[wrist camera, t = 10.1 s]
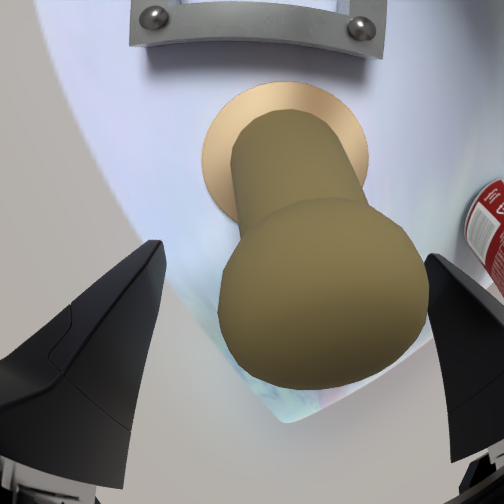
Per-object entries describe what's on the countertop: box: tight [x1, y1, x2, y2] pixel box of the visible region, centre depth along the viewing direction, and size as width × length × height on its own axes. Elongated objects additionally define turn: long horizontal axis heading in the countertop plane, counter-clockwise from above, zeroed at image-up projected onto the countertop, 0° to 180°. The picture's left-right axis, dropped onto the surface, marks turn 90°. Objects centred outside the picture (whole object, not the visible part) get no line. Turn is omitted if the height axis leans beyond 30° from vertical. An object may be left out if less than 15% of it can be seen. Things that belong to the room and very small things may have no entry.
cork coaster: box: [201, 81, 369, 223], centre depth 14 cm, size 9×9×1 cm
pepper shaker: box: [218, 109, 429, 390], centre depth 9 cm, size 6×6×11 cm
